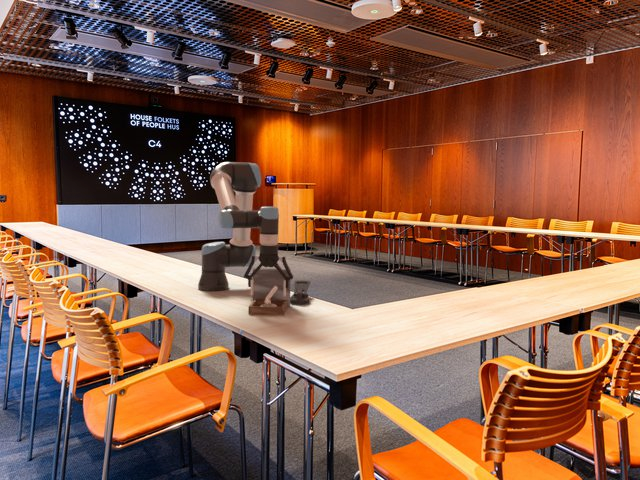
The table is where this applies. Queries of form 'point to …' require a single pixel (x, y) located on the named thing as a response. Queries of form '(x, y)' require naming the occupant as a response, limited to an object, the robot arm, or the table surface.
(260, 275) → the open wooden box
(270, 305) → the pink door lever handle
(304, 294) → the zipper pull
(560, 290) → the table surface
